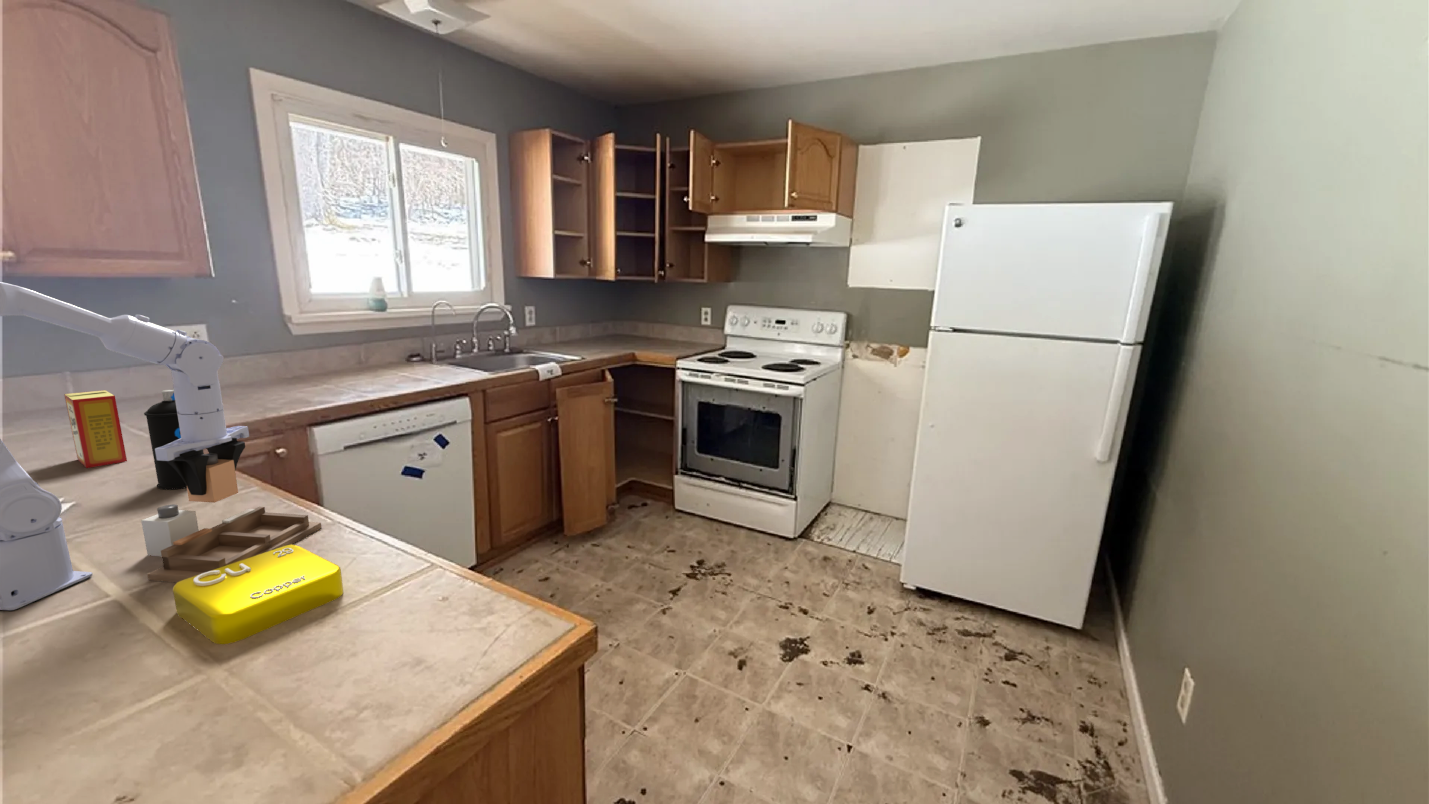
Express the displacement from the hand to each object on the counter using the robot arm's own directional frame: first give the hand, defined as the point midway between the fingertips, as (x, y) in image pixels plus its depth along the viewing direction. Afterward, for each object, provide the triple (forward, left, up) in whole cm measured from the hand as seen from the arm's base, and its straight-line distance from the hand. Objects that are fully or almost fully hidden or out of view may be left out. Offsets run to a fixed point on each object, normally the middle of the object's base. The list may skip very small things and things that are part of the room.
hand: (212, 488), depth 97 cm
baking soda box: (+31, +60, -9) cm, 68 cm away
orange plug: (0, 0, -2) cm, 2 cm away
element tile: (-18, -24, -9) cm, 31 cm away
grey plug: (-6, +2, -8) cm, 10 cm away
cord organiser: (-5, -9, -8) cm, 13 cm away
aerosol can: (+21, +29, -9) cm, 37 cm away
